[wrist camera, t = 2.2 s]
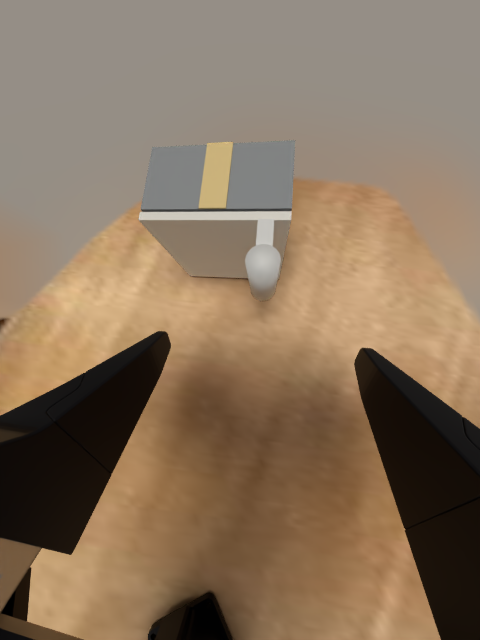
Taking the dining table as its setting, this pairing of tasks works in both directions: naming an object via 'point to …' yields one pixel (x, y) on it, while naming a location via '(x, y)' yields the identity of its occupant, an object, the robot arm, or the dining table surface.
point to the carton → (220, 177)
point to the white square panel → (225, 244)
